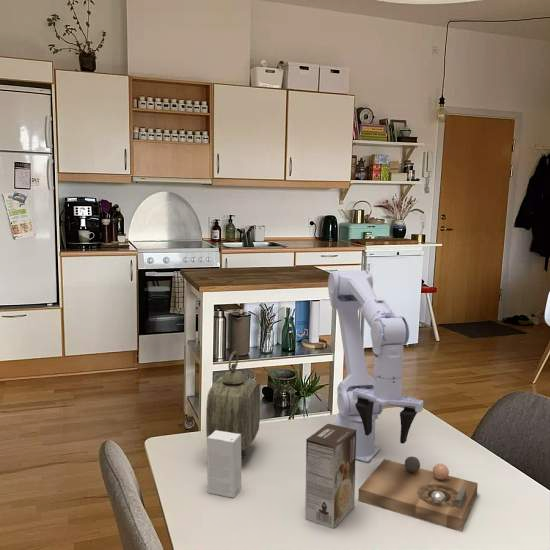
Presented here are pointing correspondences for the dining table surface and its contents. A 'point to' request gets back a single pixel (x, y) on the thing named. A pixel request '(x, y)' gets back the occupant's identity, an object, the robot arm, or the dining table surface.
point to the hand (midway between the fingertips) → (385, 437)
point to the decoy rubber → (412, 464)
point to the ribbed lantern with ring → (234, 406)
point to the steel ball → (438, 496)
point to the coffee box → (330, 474)
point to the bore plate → (419, 494)
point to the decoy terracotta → (440, 471)
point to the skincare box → (224, 463)
